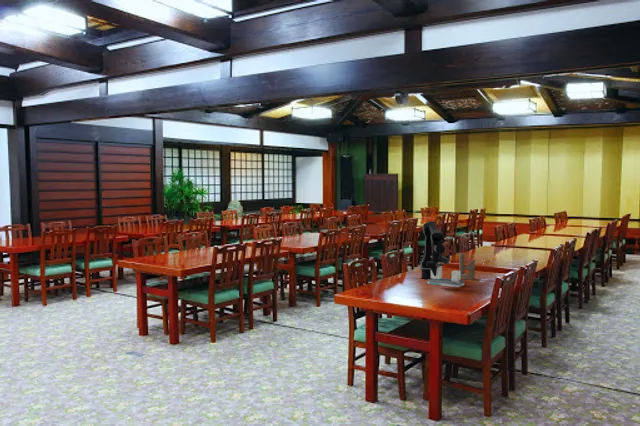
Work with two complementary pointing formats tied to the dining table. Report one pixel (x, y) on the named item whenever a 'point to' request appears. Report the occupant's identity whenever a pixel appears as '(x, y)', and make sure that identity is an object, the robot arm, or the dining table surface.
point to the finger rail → (448, 280)
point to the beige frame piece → (469, 267)
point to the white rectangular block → (438, 274)
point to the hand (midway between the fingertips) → (436, 275)
